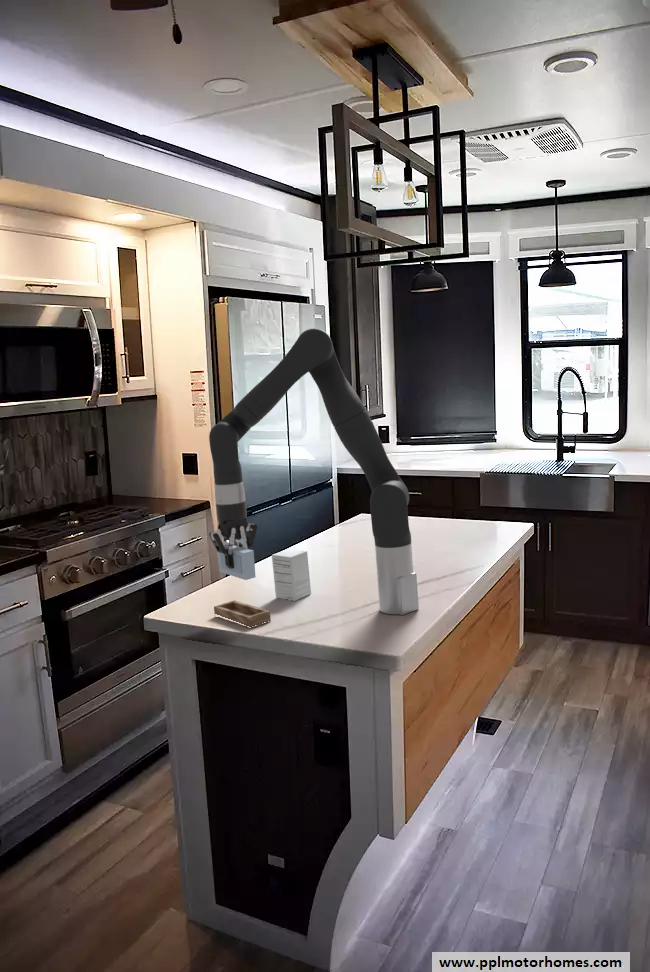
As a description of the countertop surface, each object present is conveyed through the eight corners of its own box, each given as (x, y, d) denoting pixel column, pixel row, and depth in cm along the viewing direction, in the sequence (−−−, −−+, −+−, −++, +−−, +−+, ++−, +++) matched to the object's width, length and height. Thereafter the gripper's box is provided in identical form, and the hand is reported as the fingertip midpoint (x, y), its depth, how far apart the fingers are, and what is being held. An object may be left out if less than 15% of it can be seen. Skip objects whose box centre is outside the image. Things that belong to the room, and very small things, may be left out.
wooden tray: (270, 621, 204) (269, 610, 204) (250, 628, 200) (248, 617, 200) (235, 610, 216) (234, 600, 216) (214, 616, 212) (213, 606, 212)
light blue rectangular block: (255, 577, 203) (253, 550, 202) (245, 580, 201) (242, 553, 200) (229, 569, 212) (226, 543, 211) (218, 572, 210) (216, 546, 209)
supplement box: (292, 591, 230) (288, 548, 229) (312, 594, 226) (308, 550, 224) (274, 598, 225) (270, 554, 223) (294, 601, 220) (290, 556, 218)
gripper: (215, 506, 196) (222, 574, 199) (261, 497, 205) (267, 562, 208) (199, 504, 202) (205, 570, 204) (244, 494, 211) (251, 558, 213)
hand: (237, 566), depth 206 cm, fingers closed on light blue rectangular block, 3 cm apart
